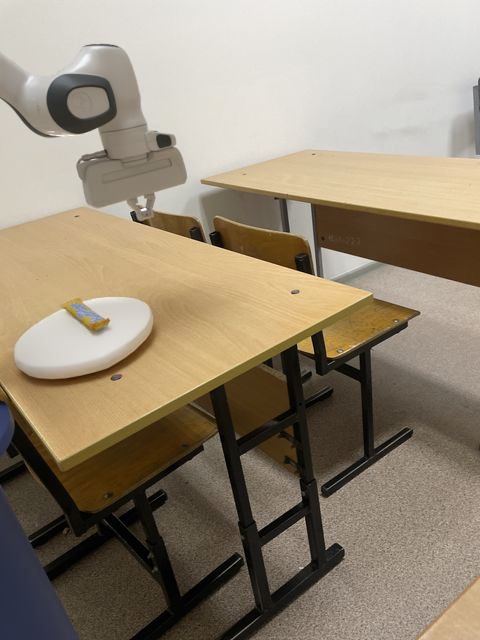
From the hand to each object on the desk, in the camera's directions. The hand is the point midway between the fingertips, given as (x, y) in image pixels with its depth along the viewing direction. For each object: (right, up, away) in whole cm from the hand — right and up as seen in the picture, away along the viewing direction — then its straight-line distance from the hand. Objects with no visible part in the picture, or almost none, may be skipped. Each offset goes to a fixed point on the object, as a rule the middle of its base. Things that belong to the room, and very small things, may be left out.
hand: (146, 218), depth 104 cm
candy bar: (-11, -20, -1) cm, 23 cm away
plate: (-11, -25, +2) cm, 28 cm away
